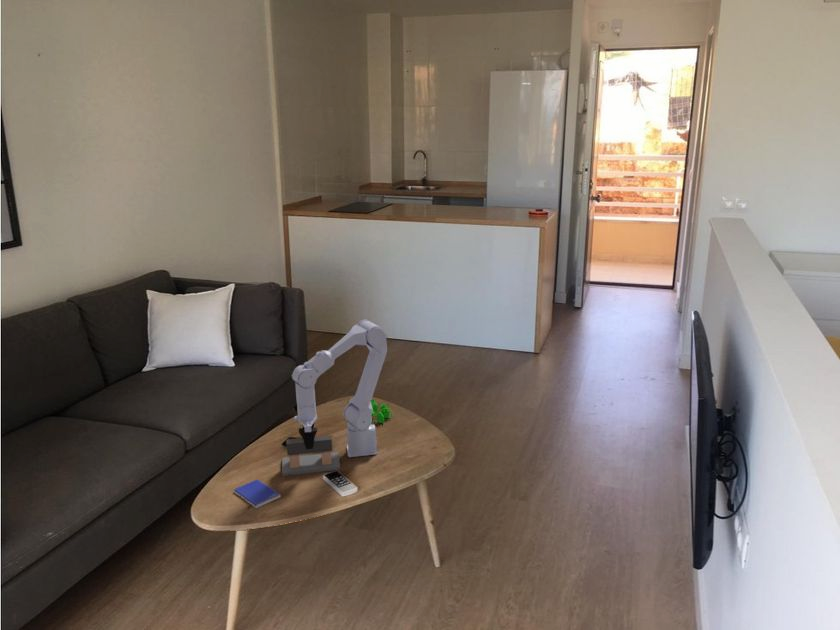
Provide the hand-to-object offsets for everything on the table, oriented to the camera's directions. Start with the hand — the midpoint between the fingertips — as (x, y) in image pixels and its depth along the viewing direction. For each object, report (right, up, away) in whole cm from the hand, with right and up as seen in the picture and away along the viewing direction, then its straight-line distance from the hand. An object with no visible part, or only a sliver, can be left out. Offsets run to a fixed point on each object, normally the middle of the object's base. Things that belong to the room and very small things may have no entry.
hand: (309, 442), depth 210 cm
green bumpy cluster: (+17, +2, +35) cm, 39 cm away
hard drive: (-13, -13, -14) cm, 23 cm away
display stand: (0, -7, +2) cm, 8 cm away
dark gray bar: (0, -3, +1) cm, 3 cm away
